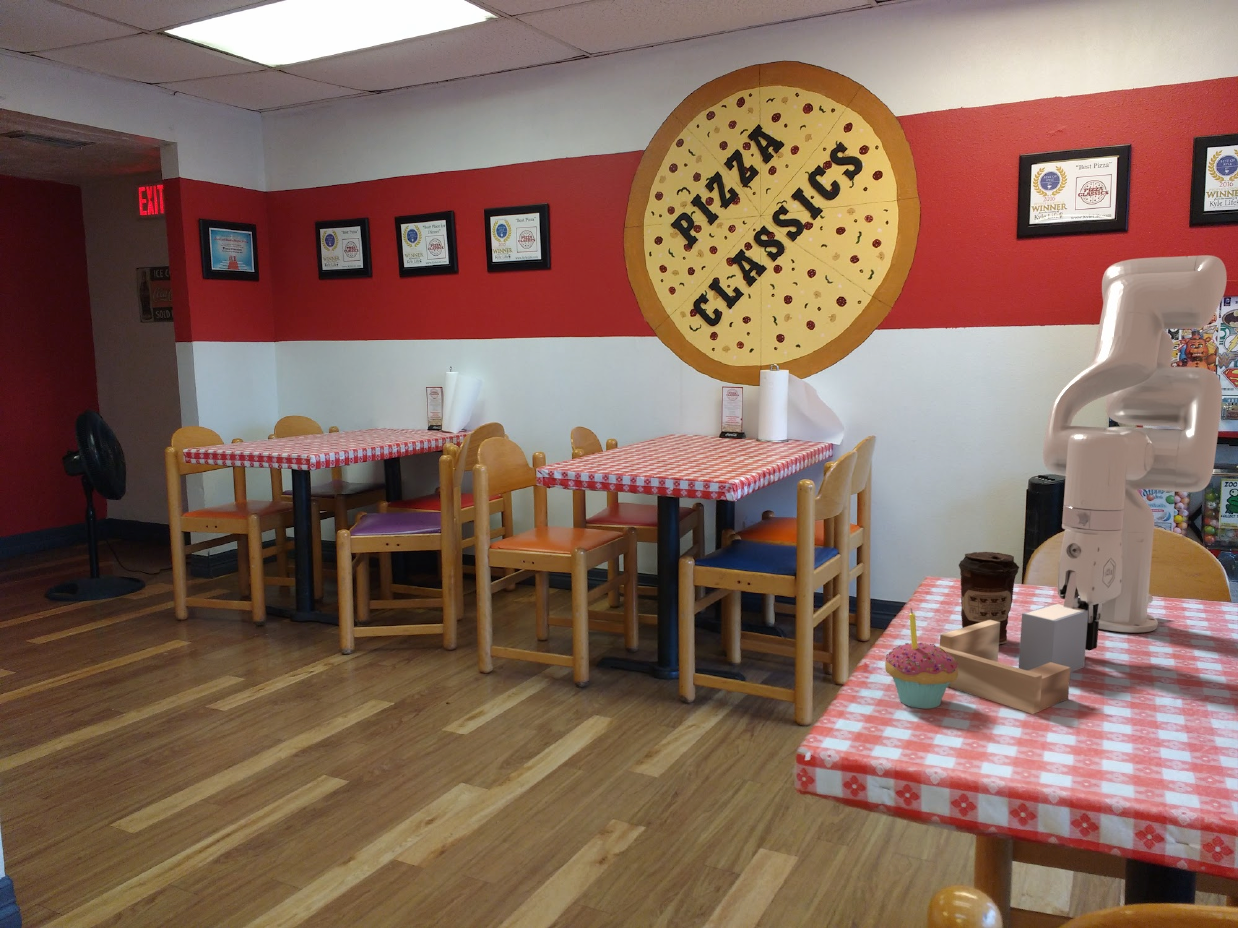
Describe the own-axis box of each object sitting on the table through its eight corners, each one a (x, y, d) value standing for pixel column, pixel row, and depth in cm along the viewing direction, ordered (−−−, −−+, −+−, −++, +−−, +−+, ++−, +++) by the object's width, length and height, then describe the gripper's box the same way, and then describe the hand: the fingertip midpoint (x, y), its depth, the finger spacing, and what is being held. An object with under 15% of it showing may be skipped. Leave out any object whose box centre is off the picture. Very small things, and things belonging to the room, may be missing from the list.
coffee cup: (1020, 650, 133) (1026, 562, 132) (959, 646, 135) (964, 559, 133) (1007, 633, 142) (1012, 550, 140) (951, 629, 143) (955, 547, 142)
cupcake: (919, 719, 107) (924, 618, 106) (868, 695, 114) (872, 601, 113) (971, 707, 111) (977, 610, 110) (918, 684, 118) (922, 593, 117)
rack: (987, 661, 128) (989, 619, 127) (1087, 690, 117) (1090, 644, 117) (930, 681, 120) (933, 636, 119) (1033, 713, 109) (1036, 664, 108)
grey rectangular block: (1052, 658, 130) (1055, 603, 129) (1084, 667, 127) (1088, 610, 126) (1018, 670, 125) (1022, 613, 124) (1050, 680, 121) (1055, 620, 120)
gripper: (1094, 528, 121) (1084, 663, 123) (1144, 519, 130) (1133, 644, 132) (1039, 520, 127) (1030, 649, 129) (1090, 511, 136) (1081, 632, 138)
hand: (1082, 646), depth 131 cm, fingers closed
